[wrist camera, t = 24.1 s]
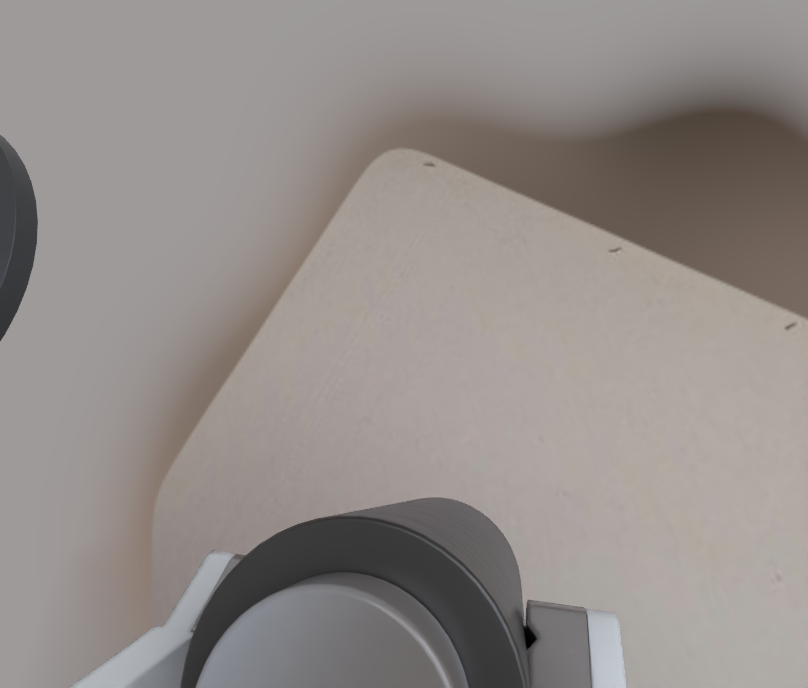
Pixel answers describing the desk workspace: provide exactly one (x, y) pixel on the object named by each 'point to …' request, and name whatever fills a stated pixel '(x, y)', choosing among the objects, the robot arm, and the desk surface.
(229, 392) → the desk surface
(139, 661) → the robot arm
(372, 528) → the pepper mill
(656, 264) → the desk surface
